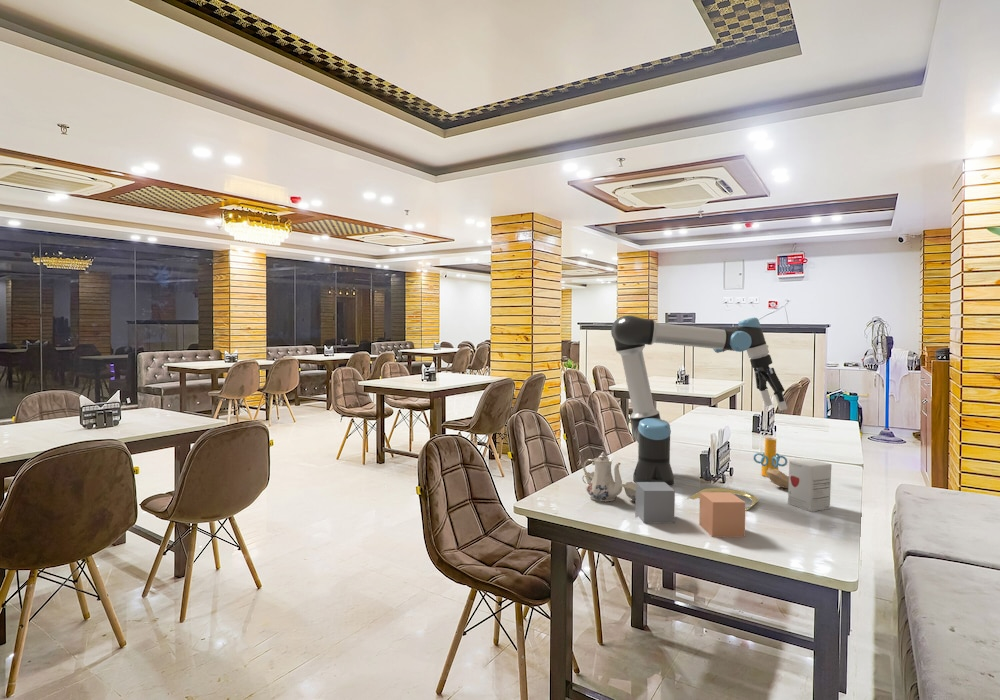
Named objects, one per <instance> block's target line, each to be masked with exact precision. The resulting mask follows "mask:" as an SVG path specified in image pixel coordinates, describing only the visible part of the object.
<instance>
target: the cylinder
mask: <svg viewBox="0 0 1000 700" xmlns="http://www.w3.org/2000/svg"><path fill="white" fill-rule="evenodd" d="M757 456H761V458H760V461H758V460H757ZM780 459H784V462H783V464H781V463H779V462H780ZM753 461H754V462H755V463H757V464H760V465H761V476H762V477H765V478H769V477H768V475H767V473H766V471H767V470H768V468H772V469H777V470H779V467H785V466H786V465H788V459H787V458H786V456H784V455H780V453H777V438H775V437H765V439H764V452H763V453H761V452H757V453H755V454H754V455H753Z"/></svg>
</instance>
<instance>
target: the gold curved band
mask: <svg viewBox="0 0 1000 700" xmlns="http://www.w3.org/2000/svg"><path fill="white" fill-rule="evenodd" d="M700 492H731V493H732V494H734V495H737V494H739V495H738V496H741V495H743V496H742V497H744V496H746V497H745V498H747V497H748V498H747V499H749V498H751V499H752V500H753V501H752V500H751V499H750V500H751V501H752V503H751V504H750V505H751V506H750V505H749V506H750V507H749V506H748V507H749V508H748V507H747V508H745V509H746V510H745V512H748V511H749V510H751V509H752V508H753V507H755V505H757V504H758V502H759V498H758V497H757V496H756V495H754V494H752V493H750V492H746V491H744V490H738V489H733V488H724V487H711V488H704V489H701V490H700V491H698V492H696V493H694V494H693V495H691V496H690V497H688V498H686V499H685V500H687V501H688V500H689V499H690V500H696V499H700Z"/></svg>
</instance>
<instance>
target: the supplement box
mask: <svg viewBox="0 0 1000 700" xmlns="http://www.w3.org/2000/svg"><path fill="white" fill-rule="evenodd" d="M788 463H789V464H788V465H789V466H788V477H789V488H788V490H787V491H788V492H787V493H788V494H787V495H788V497H787V499H788V500H787V504H789V505H790V506H795V507H796V508H800V509H803V510H805V511H807V512H811V513H813V512H817V511H818V510H819V511H823V510H824V509H825V510H830V509H831V485H832V467H833V466H832V465H833V464H831V463H828V462H824V461H820V460H817V459H813V458H808V457H805V458H796V459H789V462H788ZM825 510H824V511H825ZM819 511H818V512H819Z"/></svg>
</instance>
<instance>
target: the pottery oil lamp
mask: <svg viewBox="0 0 1000 700" xmlns="http://www.w3.org/2000/svg"><path fill="white" fill-rule="evenodd" d="M766 473H767V475H768V477H767V478H768V479H769V480H770V482H771V483H772V484H774V485H777V486H778V487H780V488H785V489H788V488H789V476H788V475H787V474H786V473H784V472H782V471H781V470H779V469H778V470H777V469H772V468H768V470H767V471H766Z"/></svg>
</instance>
